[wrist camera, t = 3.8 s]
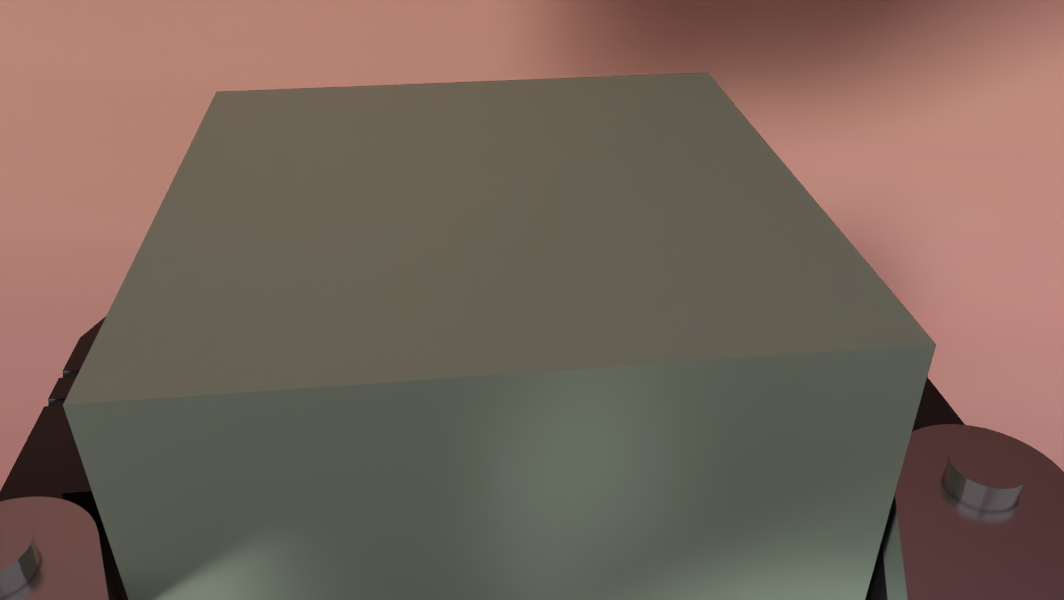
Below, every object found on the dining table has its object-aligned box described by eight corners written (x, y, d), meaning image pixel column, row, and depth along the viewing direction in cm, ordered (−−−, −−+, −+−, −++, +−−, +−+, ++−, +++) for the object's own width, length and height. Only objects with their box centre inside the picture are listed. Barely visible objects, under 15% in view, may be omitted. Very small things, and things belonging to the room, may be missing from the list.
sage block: (216, 92, 9) (61, 406, 5) (707, 72, 10) (936, 345, 6) (286, 470, 12) (222, 881, 8) (670, 440, 12) (806, 811, 8)
